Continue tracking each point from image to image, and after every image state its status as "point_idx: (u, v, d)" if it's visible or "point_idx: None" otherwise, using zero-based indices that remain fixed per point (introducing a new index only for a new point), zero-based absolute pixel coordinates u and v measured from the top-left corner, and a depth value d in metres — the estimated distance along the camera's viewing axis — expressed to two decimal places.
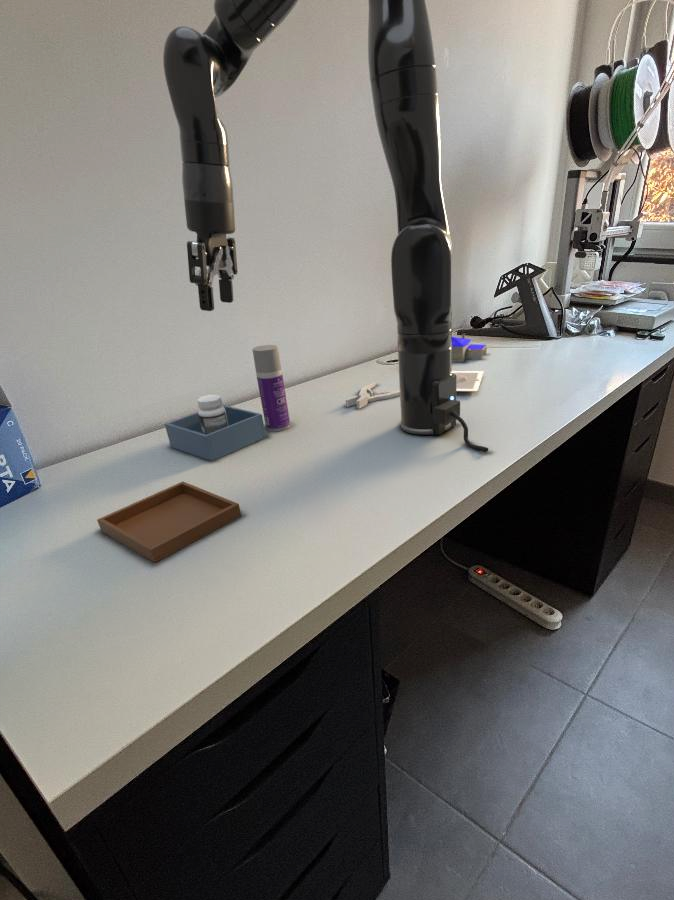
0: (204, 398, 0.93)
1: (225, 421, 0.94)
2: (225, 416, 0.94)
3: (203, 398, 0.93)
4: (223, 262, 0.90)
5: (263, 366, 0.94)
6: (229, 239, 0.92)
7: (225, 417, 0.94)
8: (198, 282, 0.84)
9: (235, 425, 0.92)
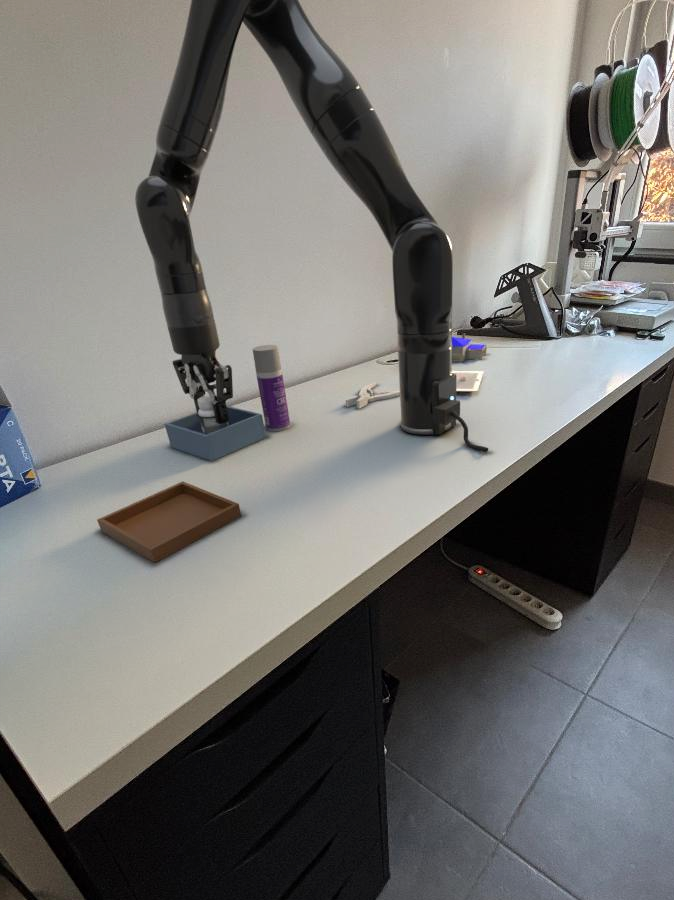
0: (204, 398, 0.93)
1: None
2: None
3: (203, 398, 0.93)
4: None
5: (263, 366, 0.94)
6: None
7: None
8: (227, 398, 0.90)
9: (235, 425, 0.92)
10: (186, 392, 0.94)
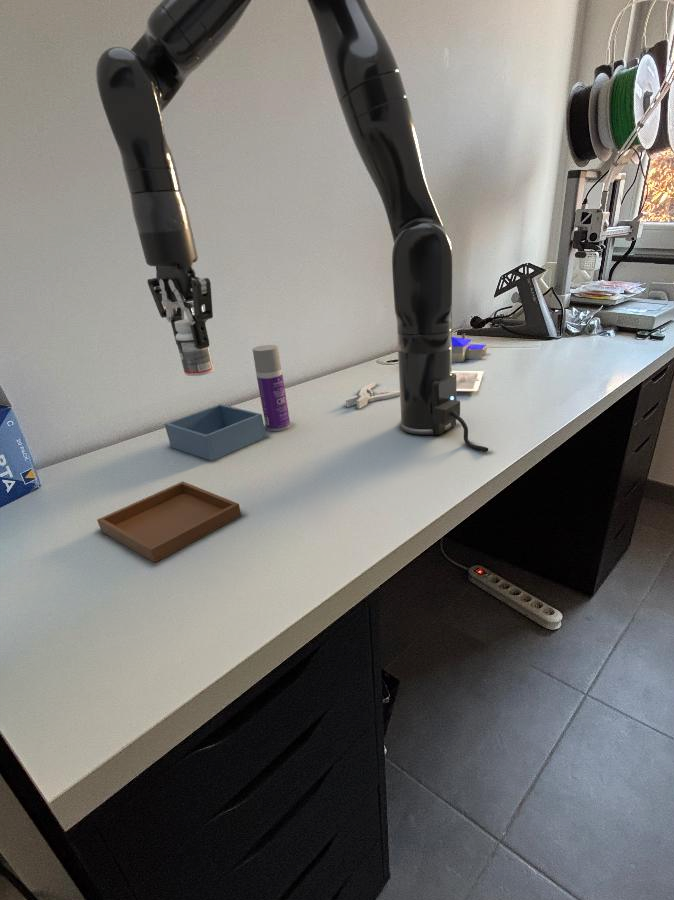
0: (182, 321, 0.84)
1: None
2: None
3: (181, 321, 0.84)
4: None
5: (263, 366, 0.94)
6: None
7: None
8: (206, 318, 0.81)
9: (235, 425, 0.92)
10: (163, 315, 0.86)
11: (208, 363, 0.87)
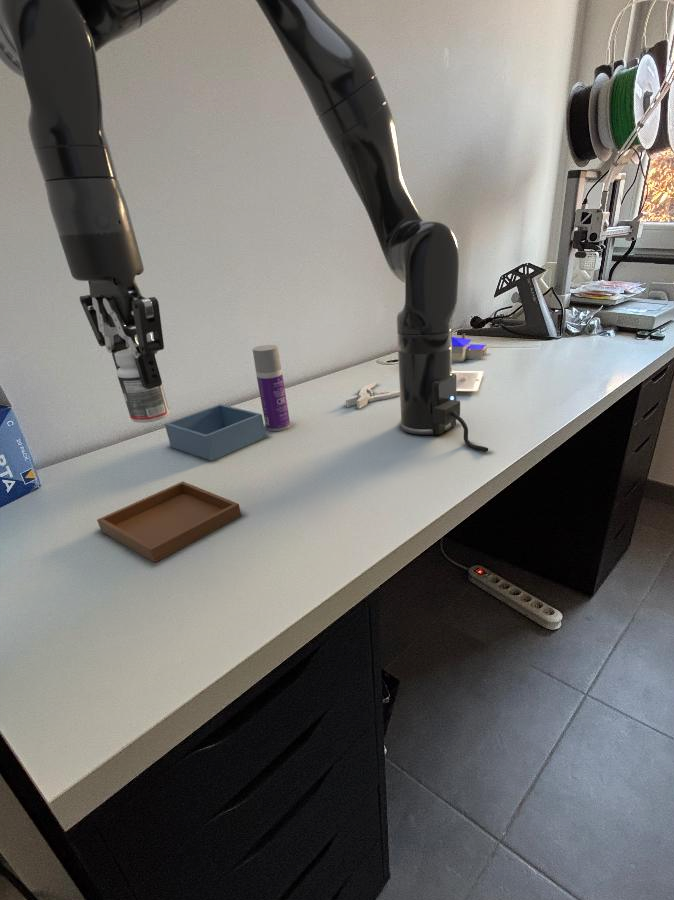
0: (125, 351, 0.64)
1: None
2: None
3: (124, 351, 0.64)
4: None
5: (263, 366, 0.94)
6: None
7: None
8: (155, 349, 0.61)
9: (235, 425, 0.92)
10: (101, 344, 0.65)
11: (161, 406, 0.66)
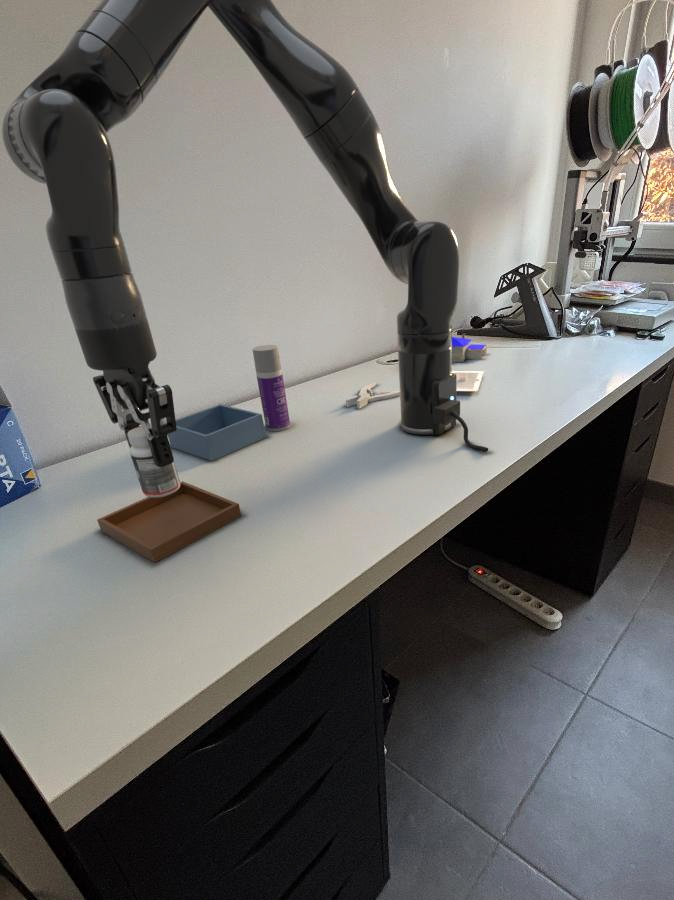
0: (138, 430, 0.65)
1: None
2: None
3: (136, 430, 0.65)
4: None
5: (263, 366, 0.94)
6: None
7: None
8: (168, 432, 0.62)
9: (235, 425, 0.92)
10: (114, 421, 0.67)
11: (173, 481, 0.68)
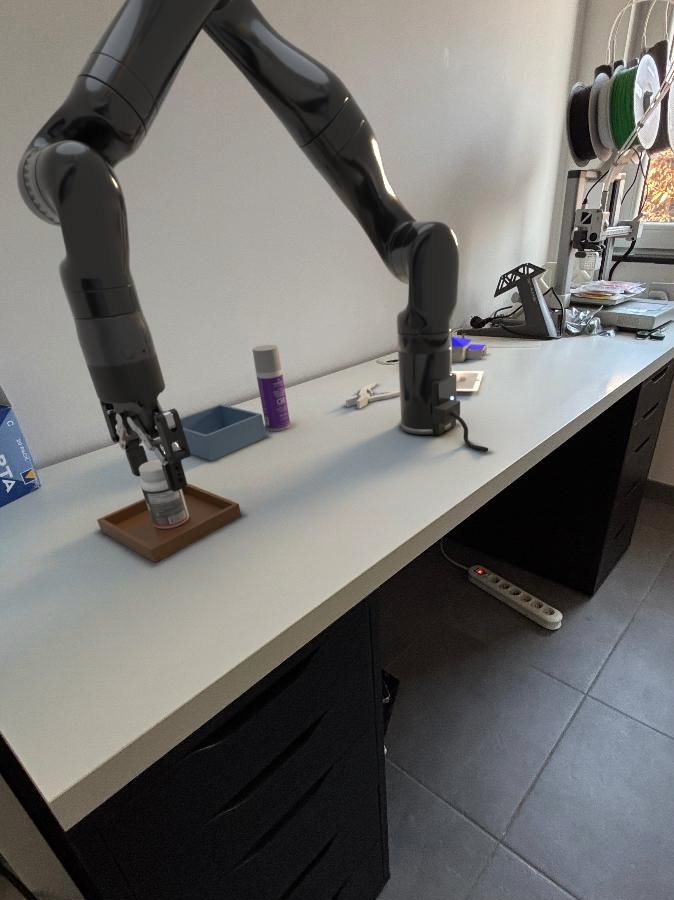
0: (148, 465, 0.67)
1: (178, 495, 0.69)
2: None
3: (147, 465, 0.68)
4: None
5: (263, 366, 0.94)
6: None
7: (178, 490, 0.69)
8: (182, 458, 0.63)
9: (235, 425, 0.92)
10: (115, 441, 0.69)
11: (182, 513, 0.70)
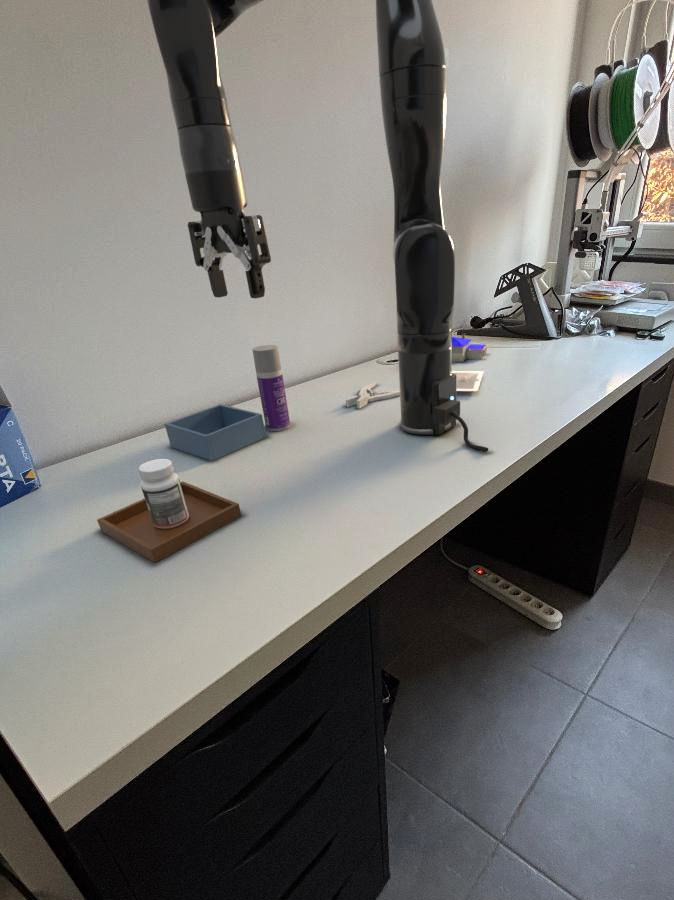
0: (148, 465, 0.67)
1: (178, 495, 0.69)
2: (178, 489, 0.69)
3: (147, 465, 0.68)
4: None
5: (263, 366, 0.94)
6: None
7: (178, 490, 0.69)
8: (264, 262, 0.74)
9: (235, 425, 0.92)
10: (198, 264, 0.80)
11: (182, 513, 0.70)
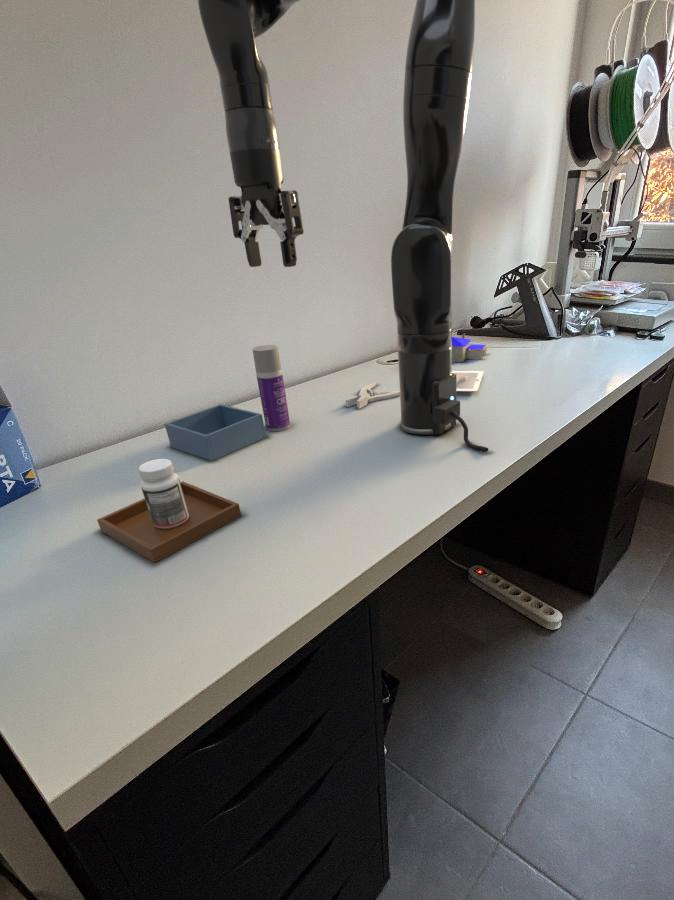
0: (148, 465, 0.67)
1: (178, 495, 0.69)
2: (178, 489, 0.69)
3: (147, 465, 0.68)
4: None
5: (263, 366, 0.94)
6: None
7: (178, 490, 0.69)
8: (298, 233, 0.82)
9: (235, 425, 0.92)
10: (236, 236, 0.88)
11: (182, 513, 0.70)
